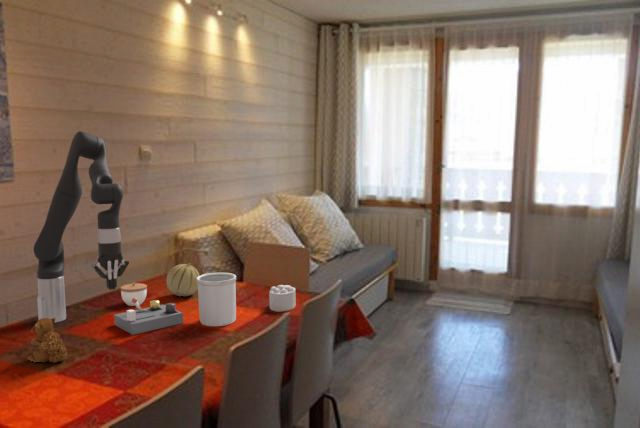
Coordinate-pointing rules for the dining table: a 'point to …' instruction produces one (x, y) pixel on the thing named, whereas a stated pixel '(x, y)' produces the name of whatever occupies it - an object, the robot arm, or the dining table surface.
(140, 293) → the lidded jar
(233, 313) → the utensil holder
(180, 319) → the panel
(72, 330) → the dining table surface
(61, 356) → the brown teddy bear
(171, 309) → the button dark gray
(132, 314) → the matte white cuboid
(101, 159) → the robot arm
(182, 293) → the cantaloupe
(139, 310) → the toggle lever
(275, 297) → the lumpy-topped squat cylinder
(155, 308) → the button brass
